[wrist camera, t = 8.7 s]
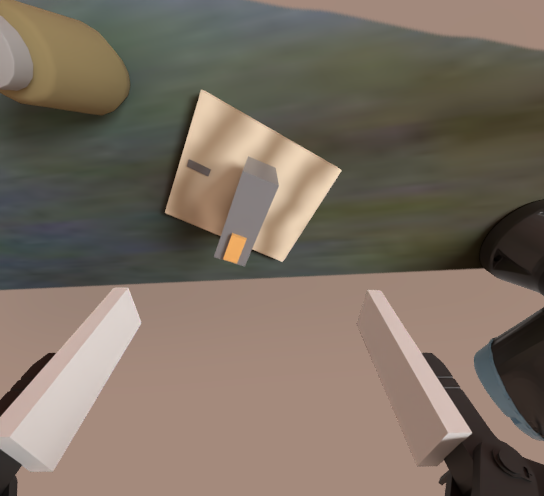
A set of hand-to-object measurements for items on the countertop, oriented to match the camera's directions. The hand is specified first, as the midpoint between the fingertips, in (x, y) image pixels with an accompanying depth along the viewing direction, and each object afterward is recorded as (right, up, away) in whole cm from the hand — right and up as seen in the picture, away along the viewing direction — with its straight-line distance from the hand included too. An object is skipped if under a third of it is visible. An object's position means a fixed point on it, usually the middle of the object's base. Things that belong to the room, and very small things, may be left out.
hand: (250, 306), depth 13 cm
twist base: (-2, +12, +21) cm, 25 cm away
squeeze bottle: (-19, +24, +14) cm, 33 cm away
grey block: (-2, +10, +17) cm, 20 cm away
